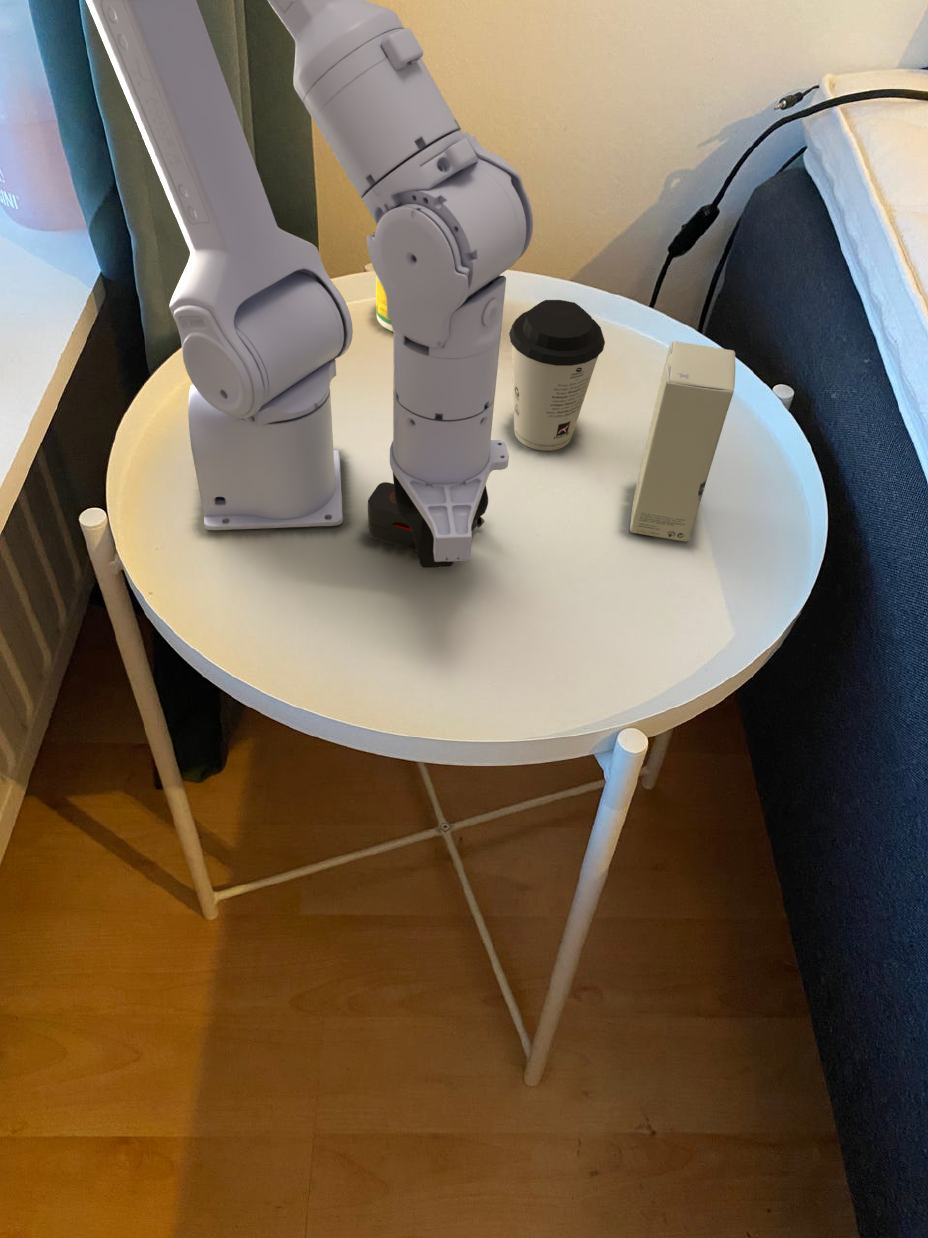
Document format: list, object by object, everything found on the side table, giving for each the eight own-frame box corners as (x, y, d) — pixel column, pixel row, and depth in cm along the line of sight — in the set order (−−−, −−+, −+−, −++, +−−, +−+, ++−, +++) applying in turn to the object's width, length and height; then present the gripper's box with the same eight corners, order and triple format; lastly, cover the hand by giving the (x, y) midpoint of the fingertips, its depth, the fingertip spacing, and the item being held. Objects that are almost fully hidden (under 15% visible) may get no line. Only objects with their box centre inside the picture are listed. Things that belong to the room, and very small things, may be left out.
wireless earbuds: (461, 569, 66) (464, 534, 64) (365, 539, 67) (364, 504, 65) (484, 526, 69) (487, 491, 67) (392, 499, 70) (392, 464, 68)
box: (688, 545, 69) (736, 394, 59) (627, 534, 69) (665, 382, 60) (692, 497, 72) (738, 347, 63) (633, 487, 73) (670, 336, 63)
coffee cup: (587, 464, 74) (609, 351, 67) (496, 456, 74) (508, 342, 67) (586, 409, 79) (607, 297, 71) (501, 401, 79) (512, 289, 71)
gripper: (535, 472, 50) (510, 641, 60) (497, 317, 59) (482, 486, 70) (398, 476, 49) (397, 647, 59) (382, 319, 59) (383, 489, 69)
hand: (435, 561), depth 64 cm, fingers closed
